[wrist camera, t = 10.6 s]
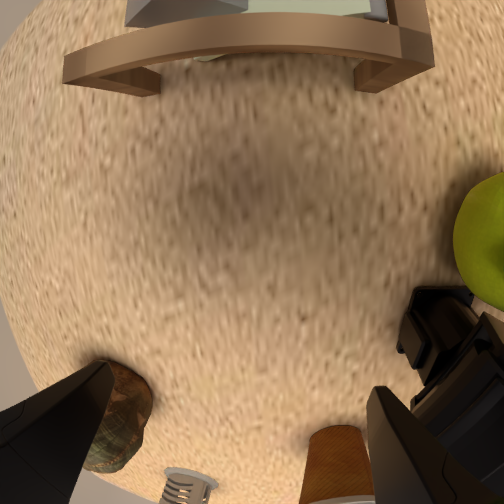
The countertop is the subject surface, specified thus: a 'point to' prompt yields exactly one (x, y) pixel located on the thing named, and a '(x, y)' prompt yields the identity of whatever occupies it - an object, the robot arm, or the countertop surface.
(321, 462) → the disposable coffee cup
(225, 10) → the gray cube
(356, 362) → the countertop surface
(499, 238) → the fruit
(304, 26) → the frame
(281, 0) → the trapdoor
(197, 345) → the countertop surface
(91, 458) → the shell
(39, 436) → the robot arm
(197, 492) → the french press
